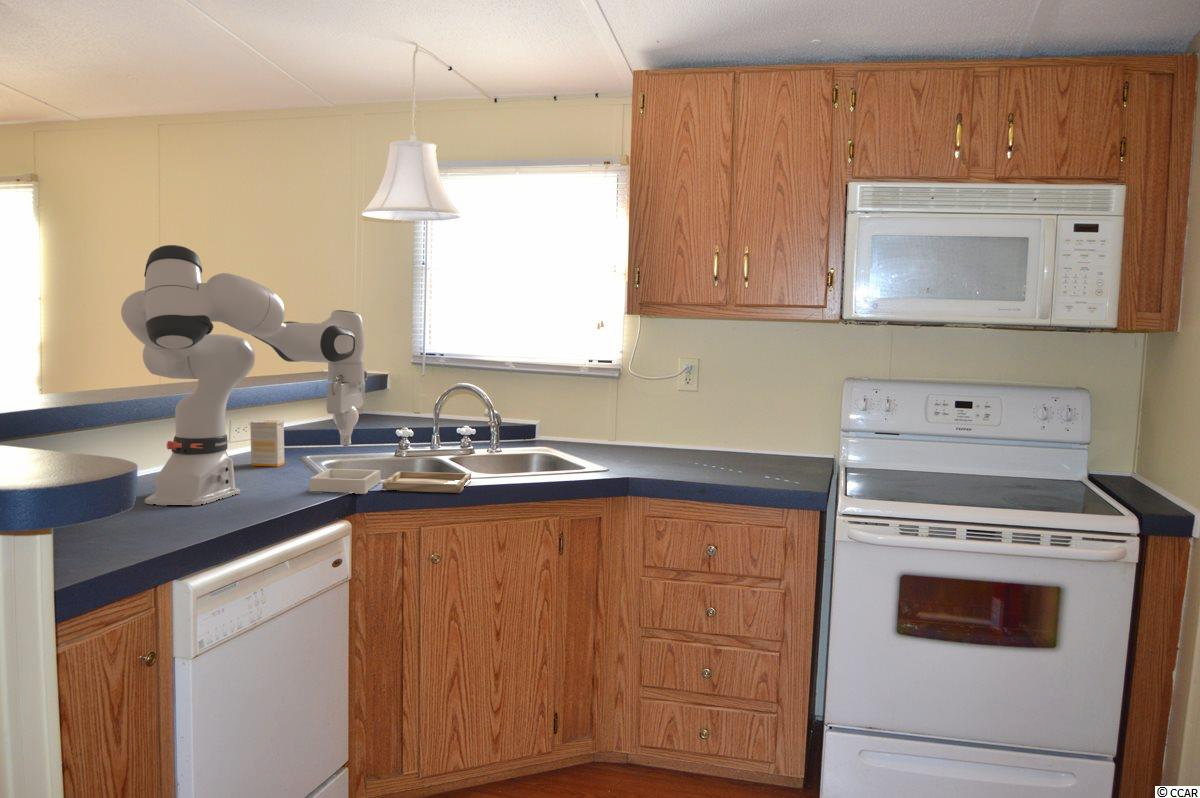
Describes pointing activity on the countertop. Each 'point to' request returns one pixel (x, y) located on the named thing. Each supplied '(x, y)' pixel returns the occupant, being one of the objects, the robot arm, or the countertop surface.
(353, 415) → the lightbulb
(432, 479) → the tray
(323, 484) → the shallow white dish
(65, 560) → the countertop surface
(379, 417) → the countertop surface
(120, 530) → the countertop surface
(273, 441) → the supplement box
